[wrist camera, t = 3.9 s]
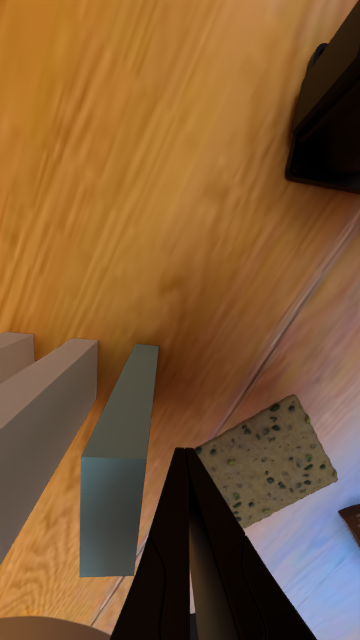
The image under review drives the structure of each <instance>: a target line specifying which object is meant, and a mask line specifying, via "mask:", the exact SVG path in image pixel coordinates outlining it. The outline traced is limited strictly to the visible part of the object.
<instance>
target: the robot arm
mask: <svg viewBox="0 0 360 640" xmlns="http://www.w3.org/2000/svg"><path fill="white" fill-rule="evenodd" d="M292 136H293V140H292V144H291V149H290V154H289V158H288V163H287V168H286V176H287V178H288V179H289V180H292V181H297V182H303V183H308V184H313V185H318V186H323V187H329V188H334V189H339V190H344V191H349V192H355V193H360V0H358V2H357V3H356V5H355V6H354V8H353V9H352V11H351V12H350V13H349V15H348V16H347V18H346V19H345V21H344V22H343V24H342V25H341V26H340V28H339V29H338V31H337V32H336V34H335V35H334V37H333V38H332V39H331V41H330V42H329V44H327V43H322V44H320V45H319V46H318V47H317V49H316V50H315V52H314V53H313V55H312V56H311V58H310V61H309V66H308V71H307V75H306V77H305V79H304V80H303V82H302V86H301V90H300V95H299V100H298V104H297V109H296V114H295V118H294V123H293V128H292ZM294 167H295V168H296V169H297V173H296V172H295V171H294ZM190 571H191V579H192V588H193V596H194V604H195V613H196V621H197V629H198V638H199V640H317V639H316V637H315V636H314V634H313V633H312V631H311V630H310V629H309V627H308V626H307V624H306V623H305V622H304V620H303V619H302V617H301V616H300V615H299V613H298V612H297V610H296V609H295V608H294V606H293V605H292V603H291V602H290V601H289V599H288V598H287V596H286V595H285V593H284V592H283V591H282V589H281V588H280V586H279V585H278V583H277V582H276V580H275V579H274V578H273V576H272V575H271V573H270V572H269V570H268V569H267V567H266V566H265V564H264V563H263V561H262V559H261V558H260V556H259V555H258V553H257V551H256V550H255V548H254V547H253V545H252V543H251V542H250V540H249V538H248V537H247V536H245V532H244V530H243V529H242V527H241V525H240V524H239V522H238V520H237V519H236V517H235V515H234V514H233V512H232V511H231V509H230V507H229V506H228V504H227V502H226V501H225V499H224V497H223V496H222V494H221V492H220V491H219V489H218V487H217V486H216V484H215V483H214V481H213V479H212V478H211V476H210V474H209V473H208V471H207V469H206V468H205V466H204V464H203V463H202V461H201V459H200V458H199V456H198V455H197V453H196V451H195V450H194V448H185V449H184V448H182V447H176V448H175V451H174V454H173V457H172V460H171V464H170V467H169V470H168V473H167V476H166V480H165V483H164V486H163V489H162V493H161V496H160V499H159V502H158V506H157V509H156V512H155V515H154V519H153V522H152V525H151V528H150V532H149V535H148V538H147V541H146V544H145V547H144V551H143V554H142V557H141V560H140V563H139V566H138V569H137V572H136V575H135V577H134V580H133V582H132V585H131V588H130V590H129V593H128V595H127V598H126V601H125V603H124V605H123V608H122V610H121V613H120V615H119V618H118V620H117V622H116V625H115V627H114V630H113V632H112V635H111V637H110V640H190Z"/></svg>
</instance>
